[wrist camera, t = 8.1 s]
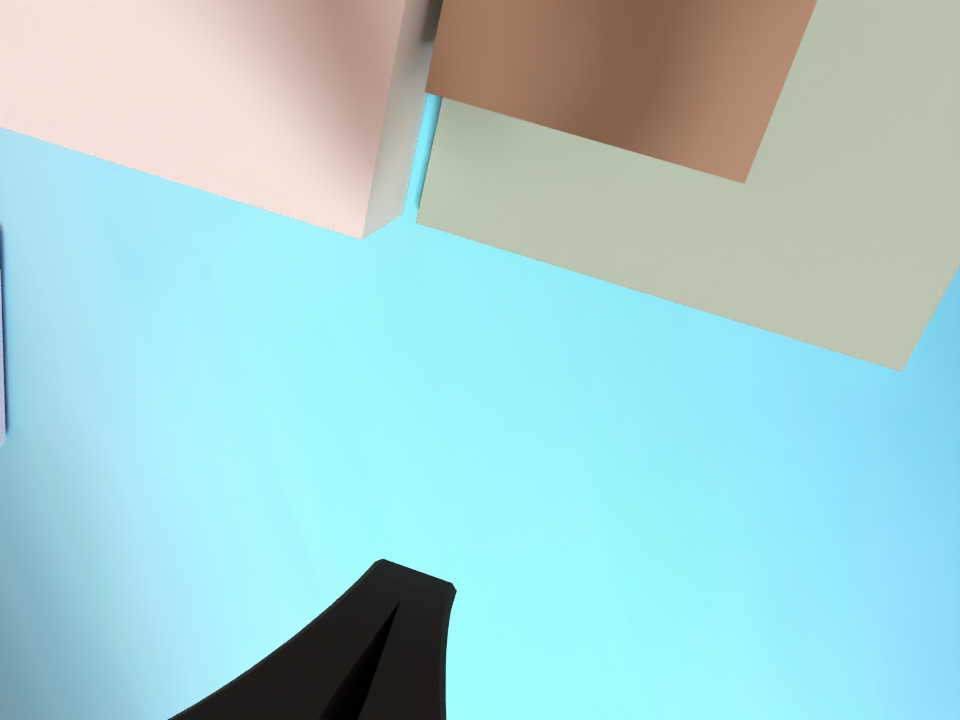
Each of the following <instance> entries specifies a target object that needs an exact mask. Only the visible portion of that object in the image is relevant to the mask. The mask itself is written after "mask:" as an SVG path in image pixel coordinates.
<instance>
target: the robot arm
mask: <svg viewBox="0 0 960 720" xmlns="http://www.w3.org/2000/svg"><path fill="white" fill-rule="evenodd" d="M5 439H6V432H5V400H4V368H3V335H2V303H1V271H0V446H2V445H3V444H4V443H5ZM456 592H457V591H456V589H455V587H454V586H453V584H452V583H450V582H447V581H444V580H442V579H439V578H436V577H433V576H430V575H427V574H425V573H422V572H419V571H416V570H413V569H410V568H408V567H405V566H402V565H399V564H396V563H393V562H391V561H388V560H385V559H381V560H378V561H376V562H374V563H373V565H372V566H371V567H370V568H369V569H368V570H367V571H366V572H365V573H364V574H363V575H362V576H361V577H360V578H359V579H358V580H357V581H356V582H355V583H354V584H353V585H352V586H351V587H350V588H349V589H348V590H347V591H346V592H345V593H344V594H343V595H342V596H341V597H339V598H338V599H337V600H336V601H335V602H334V603H333V604H332V605H331V606H329V607H328V608H327V609H326V610H325V611H324V612H322V613H321V614H320V615H319V616H318V617H316V618H315V619H314V620H313V621H312V622H310V623H309V624H308V625H307V626H306V627H304V628H303V629H302V630H301V631H300V632H298V633H297V634H296V635H295V636H293V637H292V638H291V639H290V640H288V641H287V642H286V643H284V644H283V645H282V646H280V647H279V648H277V649H276V650H275V651H273V652H272V653H271V654H269V655H268V656H267V657H265V658H264V659H263V660H261V661H260V662H259V663H257V664H256V665H254V666H253V667H252V668H250V669H249V670H247V671H246V672H244V673H243V674H241V675H240V676H239V677H237V678H236V679H234V680H233V681H231V682H230V683H228V684H227V685H225V686H223V687H222V688H220V689H219V690H217V691H216V692H214V693H212V694H211V695H209V696H208V697H206V698H204V699H203V700H201V701H199V702H198V703H196V704H194V705H193V706H191V707H189V708H188V709H186V710H184V711H182V712H181V713H179V714H177V715H175V716H173V717H172V718H170V719H168V720H446V648H447V636H448V626H449V619H450V613H451V608H452V605H453V602H454V598H455V595H456Z"/></svg>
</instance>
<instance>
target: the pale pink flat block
mask: <svg viewBox="0 0 960 720" xmlns="http://www.w3.org/2000/svg"><path fill="white" fill-rule="evenodd" d="M442 4H443V0H0V127H2V128H5V129H9V130H12V131H15V132H18V133H21V134H25V135H28V136H31V137H34V138H37V139H41V140H44V141H47V142H50V143H53V144H57V145H60V146H63V147H66V148H69V149H73V150H76V151H79V152H82V153H86V154H89V155H92V156H95V157H98V158H102V159H105V160H108V161H111V162H114V163H118V164H121V165H124V166H127V167H130V168H134V169H137V170H140V171H143V172H146V173H150V174H153V175H156V176H159V177H163V178H166V179H169V180H172V181H175V182H179V183H182V184H185V185H188V186H191V187H195V188H198V189H201V190H204V191H207V192H211V193H214V194H217V195H220V196H223V197H227V198H230V199H233V200H236V201H240V202H243V203H246V204H249V205H252V206H256V207H259V208H262V209H265V210H268V211H272V212H275V213H278V214H281V215H284V216H288V217H291V218H294V219H297V220H300V221H304V222H307V223H310V224H313V225H317V226H320V227H323V228H326V229H329V230H333V231H336V232H339V233H342V234H345V235H349V236H352V237H355V238H358V239H361V240H362V239H363V238H365V237H367V236H368V235H370V234H372V233H373V232H375V231H376V230H378V229H380V228H381V227H383V226H385V225H386V224H388V223H389V222H391V221H393V220H394V219H396V218H397V217H399V216H401V215H402V214H403V210H404V205H405V200H406V195H407V191H408V186H409V181H410V176H411V171H412V166H413V161H414V156H415V152H416V147H417V142H418V137H419V132H420V127H421V122H422V117H423V112H424V108H425V103H426V98H427V93H426V92H425V87H426V82H427V78H428V73H429V68H430V63H431V58H432V53H433V48H434V43H435V38H436V33H437V28H438V23H439V18H440V13H441V9H442Z"/></svg>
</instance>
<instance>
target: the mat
mask: <svg viewBox="0 0 960 720" xmlns="http://www.w3.org/2000/svg"><path fill="white" fill-rule="evenodd" d="M416 223H418V224H421V225H425V226H428V227H431V228H434V229H438V230H441V231H444V232H447V233H451V234H454V235H457V236H460V237H464V238H467V239H470V240H474V241H477V242H480V243H483V244H487V245H490V246H493V247H496V248H500V249H503V250H506V251H509V252H513V253H516V254H519V255H522V256H526V257H529V258H532V259H535V260H539V261H542V262H545V263H549V264H552V265H555V266H558V267H562V268H565V269H568V270H571V271H575V272H578V273H581V274H584V275H588V276H591V277H594V278H597V279H601V280H604V281H607V282H610V283H614V284H617V285H620V286H623V287H627V288H630V289H633V290H637V291H640V292H643V293H646V294H650V295H653V296H656V297H659V298H663V299H666V300H669V301H672V302H676V303H679V304H682V305H685V306H689V307H692V308H695V309H698V310H702V311H705V312H708V313H711V314H715V315H718V316H721V317H725V318H728V319H731V320H734V321H738V322H741V323H744V324H747V325H751V326H754V327H757V328H760V329H764V330H767V331H770V332H773V333H777V334H780V335H783V336H786V337H790V338H793V339H796V340H799V341H803V342H806V343H809V344H813V345H816V346H819V347H822V348H826V349H829V350H832V351H835V352H839V353H842V354H845V355H848V356H852V357H855V358H858V359H861V360H865V361H868V362H871V363H874V364H878V365H881V366H884V367H888V368H891V369H894V370H897V371H901V372H902V370H903V368H904V367H905V365H906V363H907V361H908V359H909V357H910V356H911V354H912V352H913V350H914V348H915V346H916V345H917V343H918V341H919V339H920V337H921V335H922V334H923V332H924V330H925V328H926V326H927V325H928V323H929V321H930V319H931V317H932V315H933V314H934V312H935V310H936V308H937V306H938V304H939V303H940V301H941V299H942V297H943V295H944V293H945V292H946V290H947V288H948V286H949V284H950V282H951V281H952V279H953V277H954V275H955V273H956V271H957V270H958V268H959V266H960V0H817V3H816V5H815V8H814V10H813V13H812V15H811V18H810V20H809V23H808V25H807V28H806V30H805V33H804V36H803V38H802V41H801V43H800V46H799V48H798V51H797V53H796V56H795V58H794V61H793V63H792V66H791V68H790V71H789V73H788V76H787V78H786V81H785V83H784V86H783V88H782V91H781V93H780V96H779V98H778V101H777V104H776V106H775V109H774V111H773V114H772V116H771V119H770V121H769V124H768V126H767V129H766V131H765V134H764V136H763V139H762V141H761V144H760V146H759V149H758V151H757V154H756V156H755V159H754V161H753V164H752V166H751V169H750V171H749V174H748V177H747V179H746V182H745V184H743V183H740V182H736V181H733V180H729V179H726V178H722V177H719V176H715V175H712V174H708V173H705V172H701V171H698V170H694V169H691V168H687V167H684V166H680V165H677V164H673V163H670V162H667V161H663V160H660V159H656V158H653V157H649V156H646V155H642V154H639V153H635V152H632V151H628V150H625V149H621V148H618V147H614V146H611V145H607V144H604V143H600V142H597V141H593V140H590V139H586V138H583V137H580V136H576V135H573V134H569V133H566V132H562V131H559V130H555V129H552V128H548V127H545V126H541V125H538V124H534V123H531V122H527V121H524V120H520V119H517V118H513V117H510V116H506V115H503V114H500V113H496V112H493V111H489V110H486V109H482V108H479V107H475V106H472V105H468V104H465V103H461V102H458V101H454V100H451V99H447V98H444V97H443V98H442V103H441V108H440V112H439V117H438V122H437V127H436V131H435V136H434V141H433V145H432V150H431V155H430V159H429V164H428V169H427V173H426V178H425V183H424V187H423V192H422V197H421V201H420V206H419V211H418V216H417V220H416Z"/></svg>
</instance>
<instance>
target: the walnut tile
mask: <svg viewBox="0 0 960 720" xmlns="http://www.w3.org/2000/svg"><path fill="white" fill-rule="evenodd" d="M816 3H817V0H443V4H442V9H441V13H440V18H439V23H438V28H437V33H436V38H435V43H434V48H433V53H432V58H431V63H430V68H429V73H428V78H427V82H426V87H425V92H426V93H430V94H433V95H437V96H440V97H444V98H447V99H451V100H454V101H458V102H461V103H465V104H468V105H472V106H475V107H479V108H482V109H486V110H489V111H493V112H496V113H500V114H503V115H506V116H510V117H513V118H517V119H520V120H524V121H527V122H531V123H534V124H538V125H541V126H545V127H548V128H552V129H555V130H559V131H562V132H566V133H569V134H573V135H576V136H580V137H583V138H586V139H590V140H593V141H597V142H600V143H604V144H607V145H611V146H614V147H618V148H621V149H625V150H628V151H632V152H635V153H639V154H642V155H646V156H649V157H653V158H656V159H660V160H663V161H667V162H670V163H673V164H677V165H680V166H684V167H687V168H691V169H694V170H698V171H701V172H705V173H708V174H712V175H715V176H719V177H722V178H726V179H729V180H733V181H736V182H740V183H743V184H745V182H746V179H747V177H748V174H749V171H750V169H751V166H752V164H753V161H754V159H755V156H756V154H757V151H758V149H759V146H760V144H761V141H762V139H763V136H764V134H765V131H766V129H767V126H768V124H769V121H770V119H771V116H772V114H773V111H774V109H775V106H776V104H777V101H778V98H779V96H780V93H781V91H782V88H783V86H784V83H785V81H786V78H787V76H788V73H789V71H790V68H791V66H792V63H793V61H794V58H795V56H796V53H797V51H798V48H799V46H800V43H801V41H802V38H803V36H804V33H805V30H806V28H807V25H808V23H809V20H810V18H811V15H812V13H813V10H814V8H815V5H816Z"/></svg>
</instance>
